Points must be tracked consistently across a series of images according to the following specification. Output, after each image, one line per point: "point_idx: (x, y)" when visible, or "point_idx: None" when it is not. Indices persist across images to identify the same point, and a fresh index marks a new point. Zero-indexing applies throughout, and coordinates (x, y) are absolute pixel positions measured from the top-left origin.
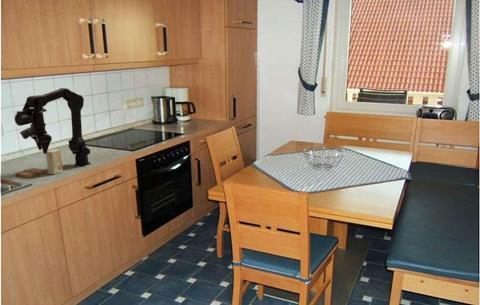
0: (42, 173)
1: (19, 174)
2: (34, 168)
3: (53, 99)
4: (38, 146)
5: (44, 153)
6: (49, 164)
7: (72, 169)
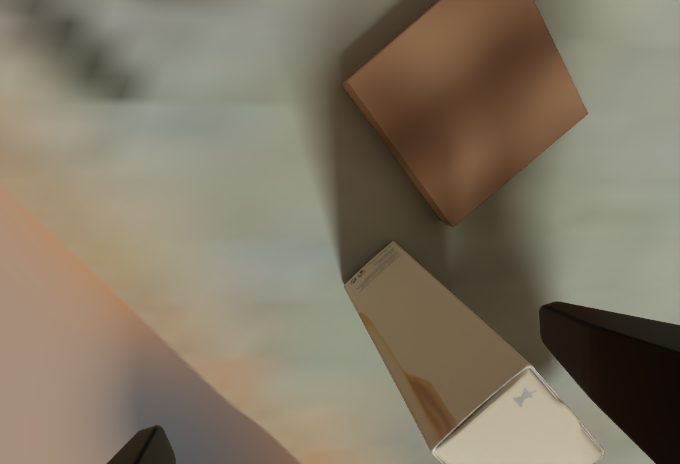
0: (422, 194)
1: None
2: (553, 133)
3: None
4: (612, 348)
5: (134, 445)
6: (405, 297)
7: None
